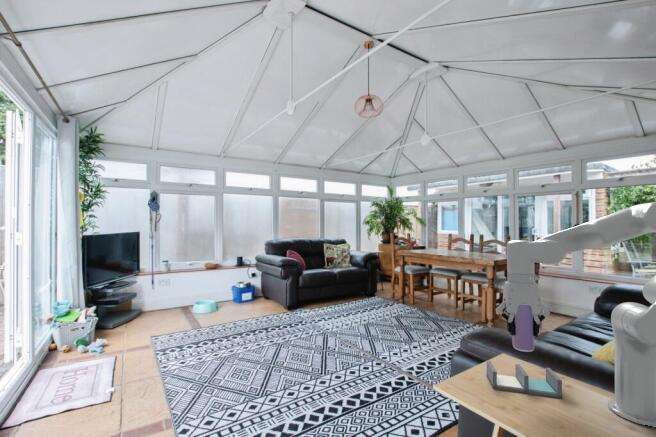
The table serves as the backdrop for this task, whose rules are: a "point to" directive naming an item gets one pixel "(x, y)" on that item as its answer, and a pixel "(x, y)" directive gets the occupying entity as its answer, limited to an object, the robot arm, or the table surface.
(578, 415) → the table surface
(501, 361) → the table surface
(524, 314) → the beverage can
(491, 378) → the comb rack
